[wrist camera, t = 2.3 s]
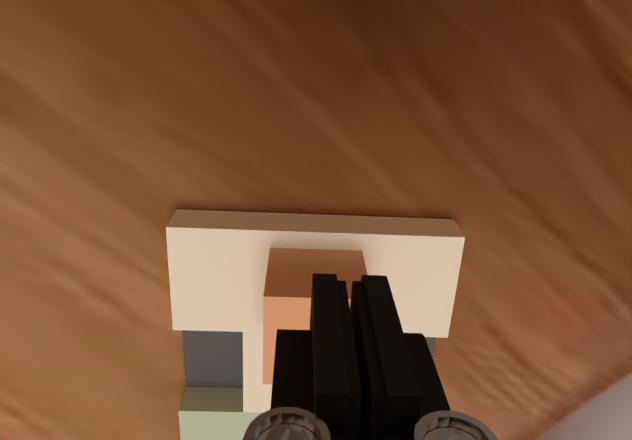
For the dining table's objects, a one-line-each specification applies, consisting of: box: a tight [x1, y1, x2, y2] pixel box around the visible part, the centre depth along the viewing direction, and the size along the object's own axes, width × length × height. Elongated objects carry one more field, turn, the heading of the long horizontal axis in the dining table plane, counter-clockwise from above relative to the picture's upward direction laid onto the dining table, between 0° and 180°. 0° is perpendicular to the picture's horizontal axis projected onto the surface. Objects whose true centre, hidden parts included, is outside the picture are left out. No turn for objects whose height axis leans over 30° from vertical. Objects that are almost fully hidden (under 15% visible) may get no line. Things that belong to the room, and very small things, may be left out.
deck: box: [166, 209, 465, 440], centre depth 34 cm, size 20×16×2 cm
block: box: [263, 248, 367, 384], centre depth 28 cm, size 5×5×5 cm
